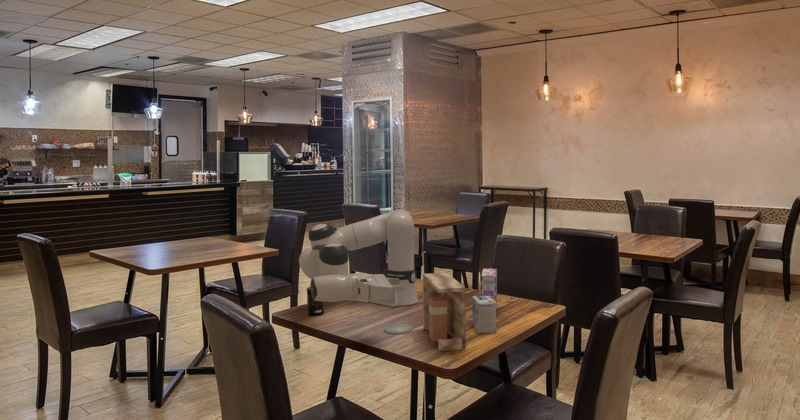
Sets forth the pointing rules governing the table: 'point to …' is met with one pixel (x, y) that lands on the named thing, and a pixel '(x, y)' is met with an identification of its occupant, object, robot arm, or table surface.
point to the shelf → (455, 308)
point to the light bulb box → (484, 314)
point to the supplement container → (314, 304)
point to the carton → (437, 318)
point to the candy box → (489, 283)
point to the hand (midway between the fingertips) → (402, 284)
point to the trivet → (398, 328)
